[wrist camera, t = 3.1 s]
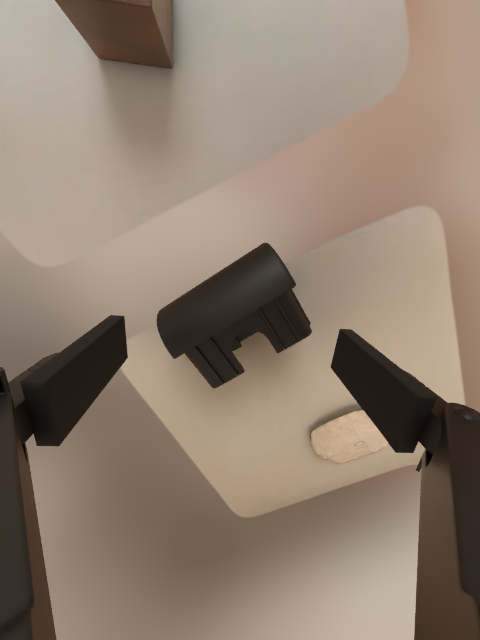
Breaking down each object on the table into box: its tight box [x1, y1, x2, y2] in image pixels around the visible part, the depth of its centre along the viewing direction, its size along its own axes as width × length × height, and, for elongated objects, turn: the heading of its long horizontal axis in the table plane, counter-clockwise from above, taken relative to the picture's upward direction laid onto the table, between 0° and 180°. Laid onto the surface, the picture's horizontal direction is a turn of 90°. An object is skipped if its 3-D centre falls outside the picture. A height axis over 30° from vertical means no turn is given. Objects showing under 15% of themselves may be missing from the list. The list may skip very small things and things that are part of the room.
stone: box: [311, 410, 389, 463], centre depth 28 cm, size 8×14×2 cm, turn 115°
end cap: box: [157, 243, 312, 388], centre depth 20 cm, size 10×7×7 cm
